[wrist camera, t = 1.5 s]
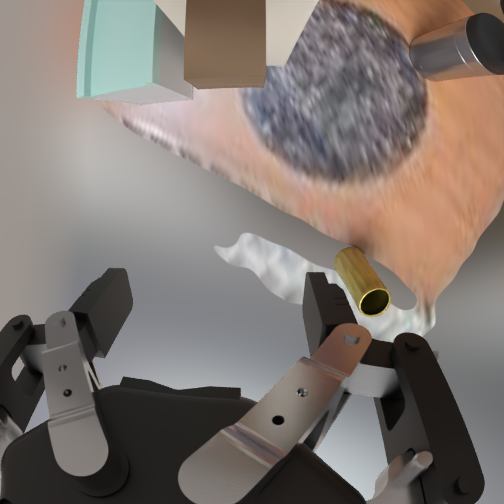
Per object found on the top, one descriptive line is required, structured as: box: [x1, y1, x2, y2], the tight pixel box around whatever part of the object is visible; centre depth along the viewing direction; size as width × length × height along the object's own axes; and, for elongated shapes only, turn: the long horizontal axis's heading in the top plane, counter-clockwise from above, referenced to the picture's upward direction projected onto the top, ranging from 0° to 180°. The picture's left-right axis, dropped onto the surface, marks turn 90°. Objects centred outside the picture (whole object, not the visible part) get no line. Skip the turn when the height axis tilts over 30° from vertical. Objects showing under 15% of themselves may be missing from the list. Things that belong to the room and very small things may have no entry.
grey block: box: [89, 12, 193, 105], centre depth 29 cm, size 26×9×18 cm, turn 0°
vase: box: [334, 247, 391, 317], centre depth 47 cm, size 6×6×14 cm
